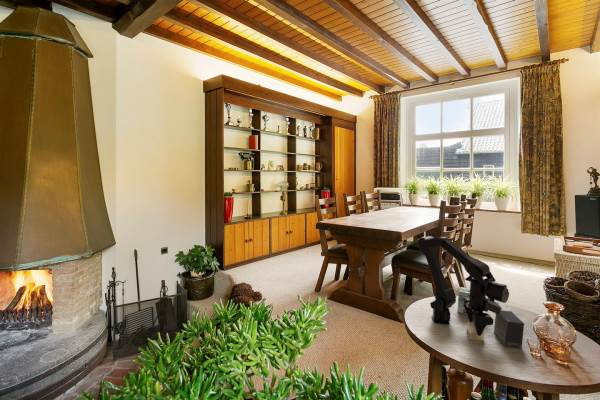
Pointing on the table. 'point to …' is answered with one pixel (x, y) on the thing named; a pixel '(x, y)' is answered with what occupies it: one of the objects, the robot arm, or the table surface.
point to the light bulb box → (462, 293)
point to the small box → (509, 329)
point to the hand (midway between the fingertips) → (475, 329)
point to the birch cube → (474, 332)
